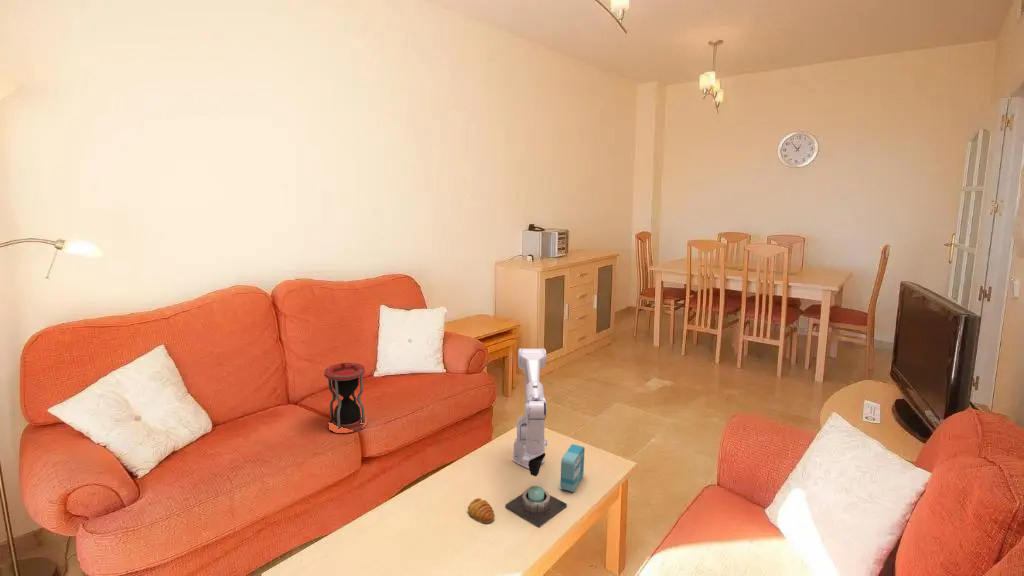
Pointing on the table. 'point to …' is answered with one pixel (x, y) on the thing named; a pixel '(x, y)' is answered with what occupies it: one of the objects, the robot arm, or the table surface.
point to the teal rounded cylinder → (536, 494)
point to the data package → (572, 468)
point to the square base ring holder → (536, 508)
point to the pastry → (481, 510)
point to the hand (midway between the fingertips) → (534, 474)
